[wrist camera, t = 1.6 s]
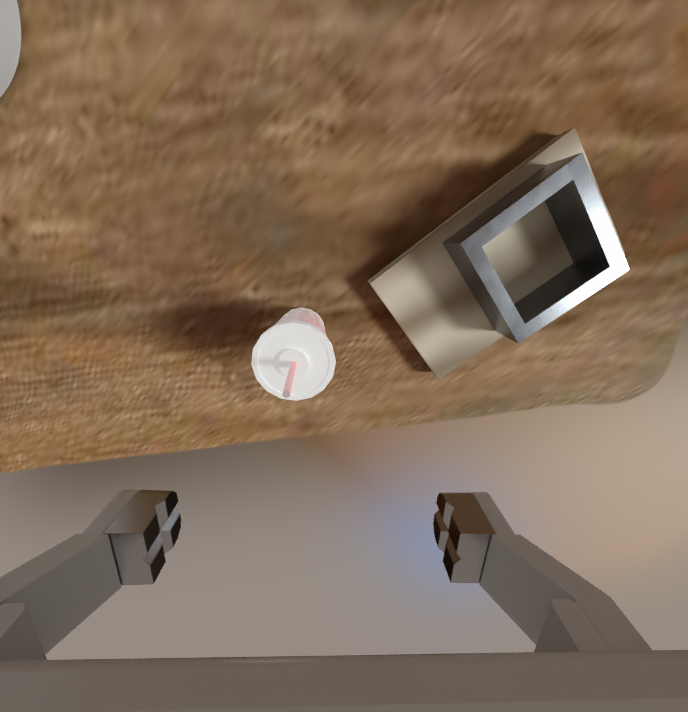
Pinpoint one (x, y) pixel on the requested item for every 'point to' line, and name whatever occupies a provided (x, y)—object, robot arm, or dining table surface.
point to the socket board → (445, 283)
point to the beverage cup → (294, 356)
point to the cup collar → (578, 230)
